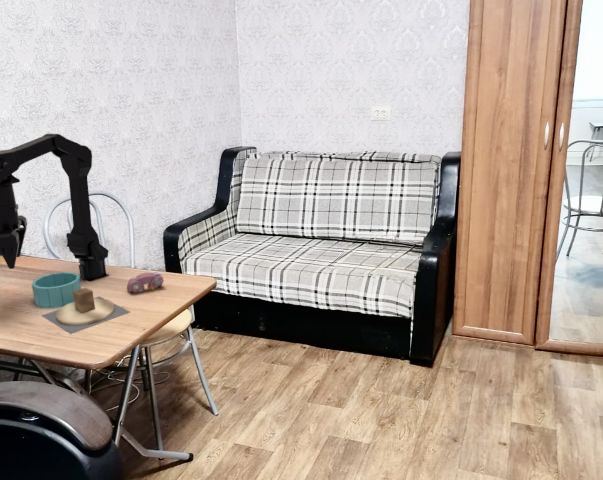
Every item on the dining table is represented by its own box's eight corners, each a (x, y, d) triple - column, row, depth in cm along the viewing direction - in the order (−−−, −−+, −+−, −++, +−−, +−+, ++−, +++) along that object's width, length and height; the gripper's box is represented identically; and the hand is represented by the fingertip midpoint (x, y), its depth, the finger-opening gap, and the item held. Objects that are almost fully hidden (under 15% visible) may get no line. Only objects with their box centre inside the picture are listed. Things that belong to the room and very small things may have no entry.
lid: (97, 298, 157) (94, 277, 156) (125, 312, 148) (122, 289, 146) (46, 315, 148) (42, 292, 146) (72, 331, 139) (68, 307, 137)
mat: (99, 298, 159) (99, 296, 159) (130, 313, 148) (130, 311, 148) (41, 317, 148) (41, 315, 148) (70, 335, 137) (70, 333, 137)
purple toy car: (129, 300, 160) (129, 283, 156) (125, 289, 163) (125, 271, 159) (164, 293, 165) (165, 276, 160) (160, 282, 168) (161, 265, 163)
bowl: (70, 288, 166) (67, 269, 164) (90, 299, 158) (87, 278, 156) (28, 301, 158) (24, 281, 156) (47, 313, 150) (44, 291, 148)
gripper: (-25, 198, 150) (-13, 255, 155) (-43, 216, 133) (-29, 279, 138) (22, 194, 153) (32, 250, 158) (10, 211, 136) (22, 273, 141)
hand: (14, 262), depth 149 cm, fingers open, 9 cm apart
